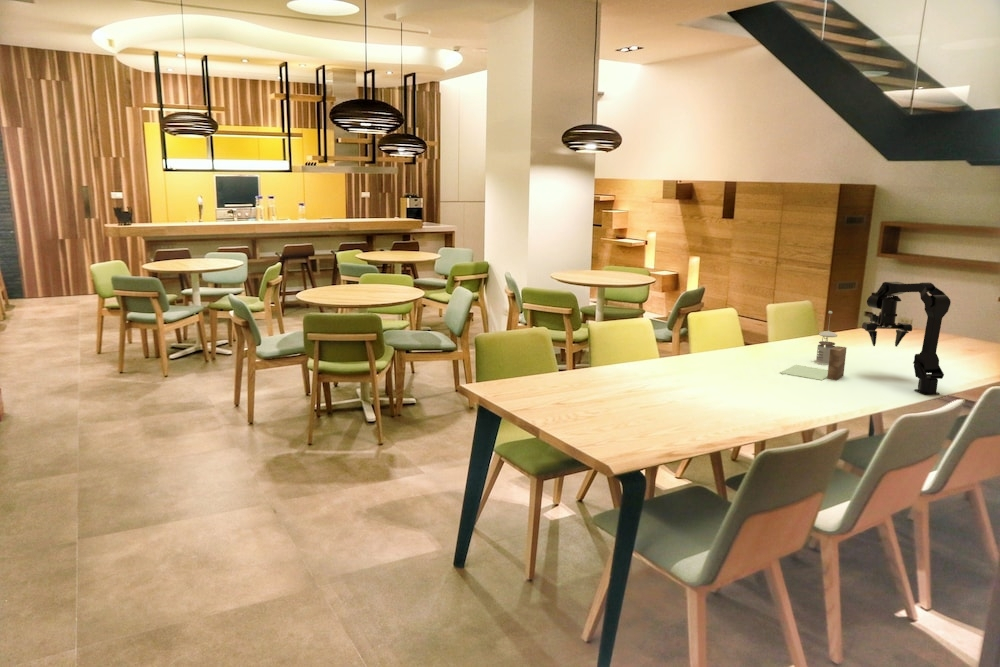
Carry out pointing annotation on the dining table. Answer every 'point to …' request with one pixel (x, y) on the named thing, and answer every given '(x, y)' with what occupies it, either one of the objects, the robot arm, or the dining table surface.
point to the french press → (825, 351)
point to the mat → (806, 372)
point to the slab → (836, 362)
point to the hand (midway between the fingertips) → (884, 346)
